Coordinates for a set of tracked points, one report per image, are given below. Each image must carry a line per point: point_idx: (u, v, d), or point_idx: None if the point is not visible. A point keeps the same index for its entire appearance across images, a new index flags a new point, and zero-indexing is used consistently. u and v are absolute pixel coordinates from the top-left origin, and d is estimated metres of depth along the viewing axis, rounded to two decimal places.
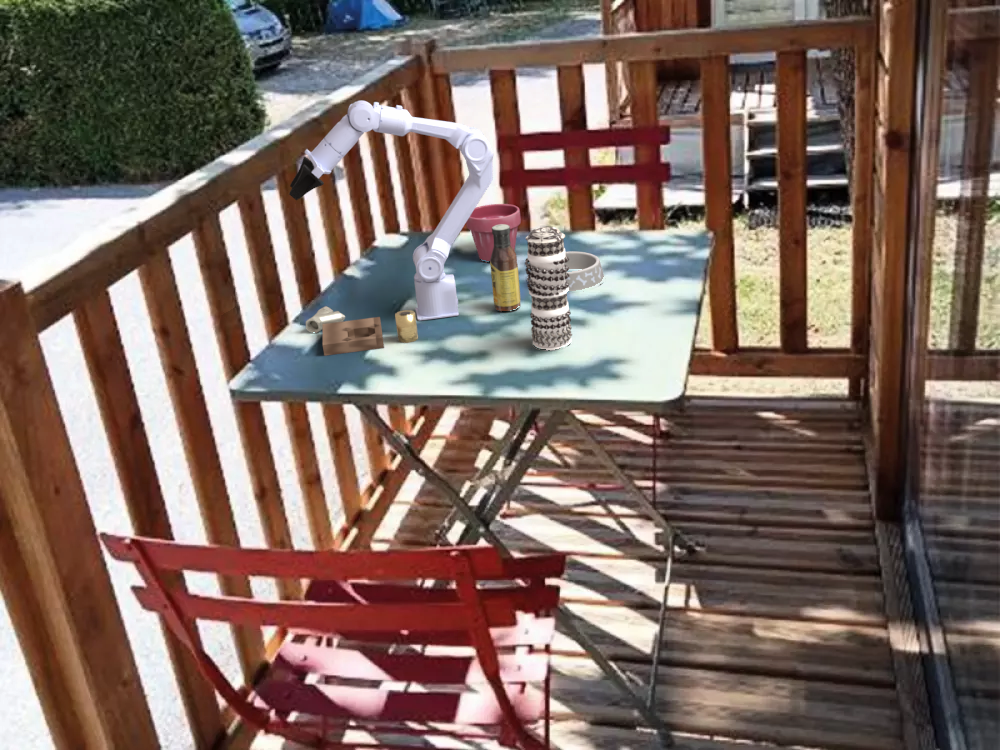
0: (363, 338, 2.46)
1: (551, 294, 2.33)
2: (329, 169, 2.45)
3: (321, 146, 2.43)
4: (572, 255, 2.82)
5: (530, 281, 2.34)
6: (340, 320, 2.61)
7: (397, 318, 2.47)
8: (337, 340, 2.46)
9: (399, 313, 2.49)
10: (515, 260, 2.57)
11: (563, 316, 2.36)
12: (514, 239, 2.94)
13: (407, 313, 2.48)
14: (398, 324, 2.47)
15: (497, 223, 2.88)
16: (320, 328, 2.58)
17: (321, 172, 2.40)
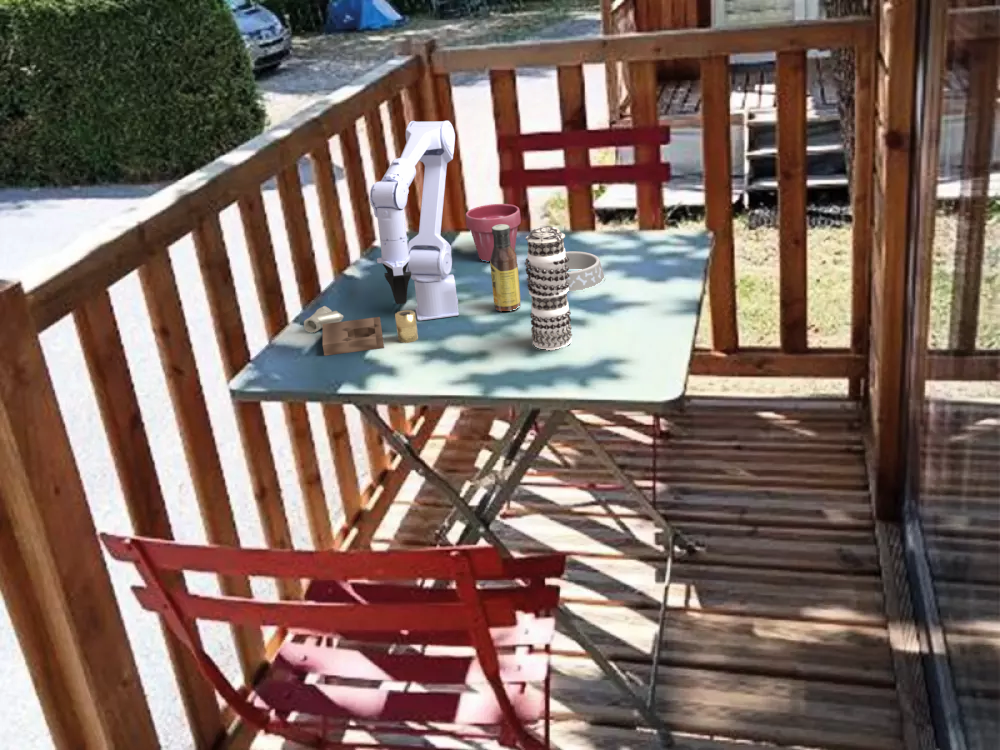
0: (363, 338, 2.46)
1: (551, 294, 2.33)
2: (406, 257, 2.41)
3: (383, 247, 2.40)
4: (572, 255, 2.82)
5: (530, 281, 2.34)
6: (338, 320, 2.61)
7: (397, 318, 2.47)
8: (337, 340, 2.46)
9: (399, 313, 2.49)
10: (515, 260, 2.57)
11: (563, 316, 2.36)
12: (514, 239, 2.94)
13: (407, 313, 2.48)
14: (398, 324, 2.47)
15: (497, 223, 2.88)
16: (318, 328, 2.58)
17: (400, 268, 2.36)
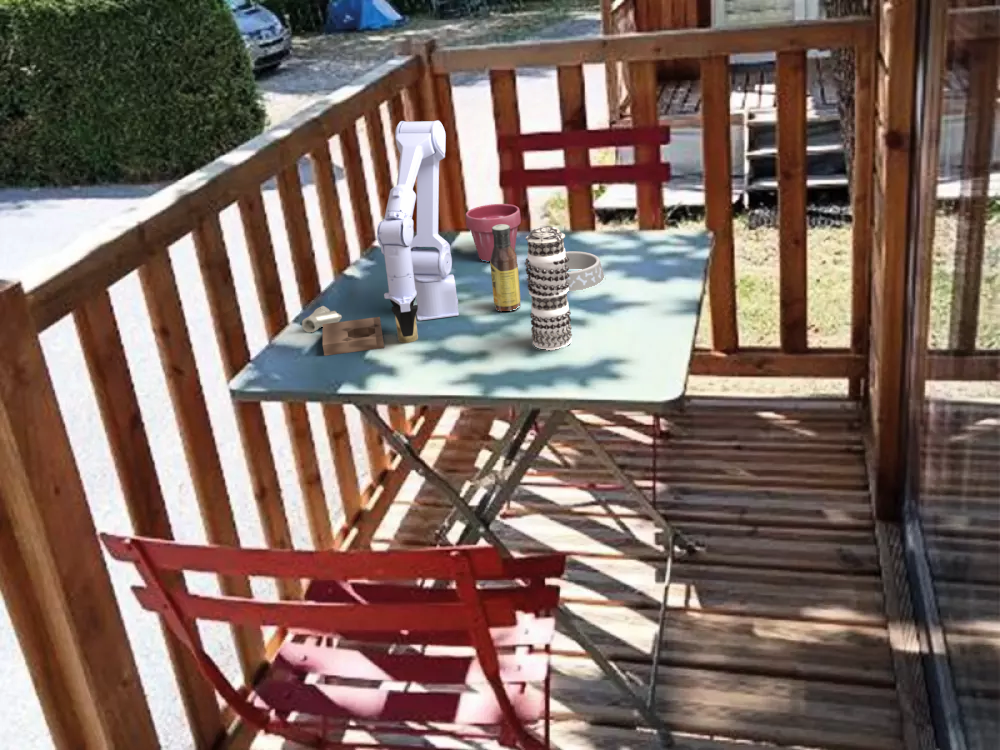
0: (363, 338, 2.46)
1: (551, 294, 2.33)
2: (412, 292, 2.44)
3: (390, 283, 2.43)
4: (572, 255, 2.82)
5: (530, 281, 2.34)
6: (336, 320, 2.61)
7: None
8: (337, 340, 2.46)
9: None
10: (515, 260, 2.57)
11: (563, 316, 2.36)
12: (514, 239, 2.94)
13: None
14: (398, 324, 2.47)
15: (497, 223, 2.88)
16: (316, 328, 2.58)
17: (407, 304, 2.39)
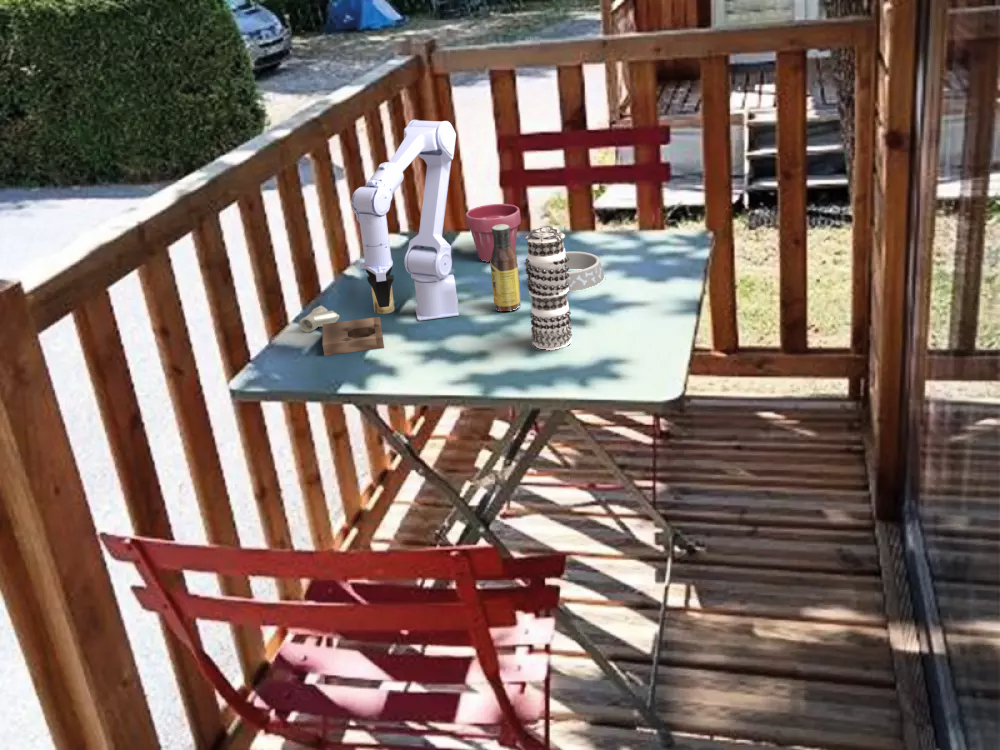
0: (363, 338, 2.46)
1: (551, 294, 2.33)
2: (388, 262, 2.41)
3: (366, 253, 2.40)
4: (572, 255, 2.82)
5: (530, 281, 2.34)
6: (334, 319, 2.61)
7: None
8: (337, 340, 2.46)
9: None
10: (515, 260, 2.57)
11: (563, 316, 2.36)
12: (514, 239, 2.94)
13: None
14: (374, 295, 2.44)
15: (497, 223, 2.88)
16: (314, 327, 2.59)
17: (383, 274, 2.36)
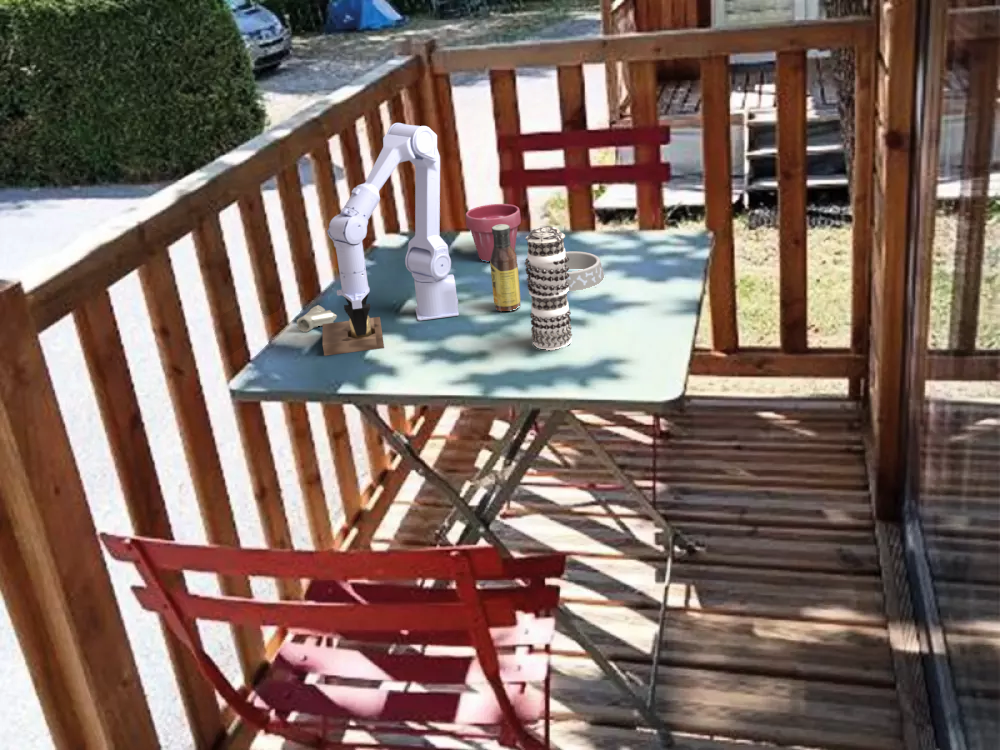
0: (363, 338, 2.46)
1: (551, 294, 2.33)
2: (365, 289, 2.44)
3: (343, 280, 2.42)
4: (572, 255, 2.82)
5: (530, 281, 2.34)
6: (331, 319, 2.62)
7: (351, 322, 2.47)
8: (337, 340, 2.46)
9: None
10: (515, 260, 2.57)
11: (563, 316, 2.36)
12: (514, 239, 2.94)
13: None
14: (352, 328, 2.47)
15: (497, 223, 2.88)
16: (311, 327, 2.59)
17: (359, 301, 2.39)
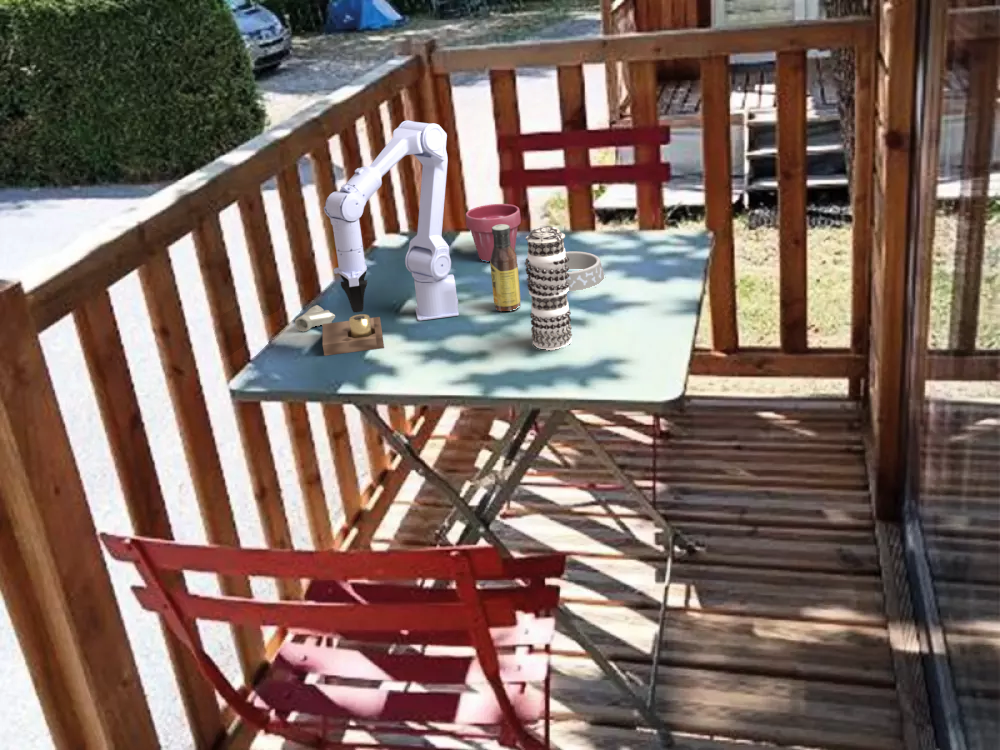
0: (363, 338, 2.46)
1: (551, 294, 2.33)
2: (362, 267, 2.42)
3: (339, 258, 2.40)
4: (572, 255, 2.82)
5: (530, 281, 2.34)
6: (330, 319, 2.62)
7: (351, 322, 2.47)
8: (337, 340, 2.46)
9: (353, 317, 2.48)
10: (515, 260, 2.57)
11: (563, 316, 2.36)
12: (514, 239, 2.94)
13: (362, 317, 2.48)
14: (352, 328, 2.47)
15: (497, 223, 2.88)
16: (309, 327, 2.59)
17: (355, 279, 2.37)
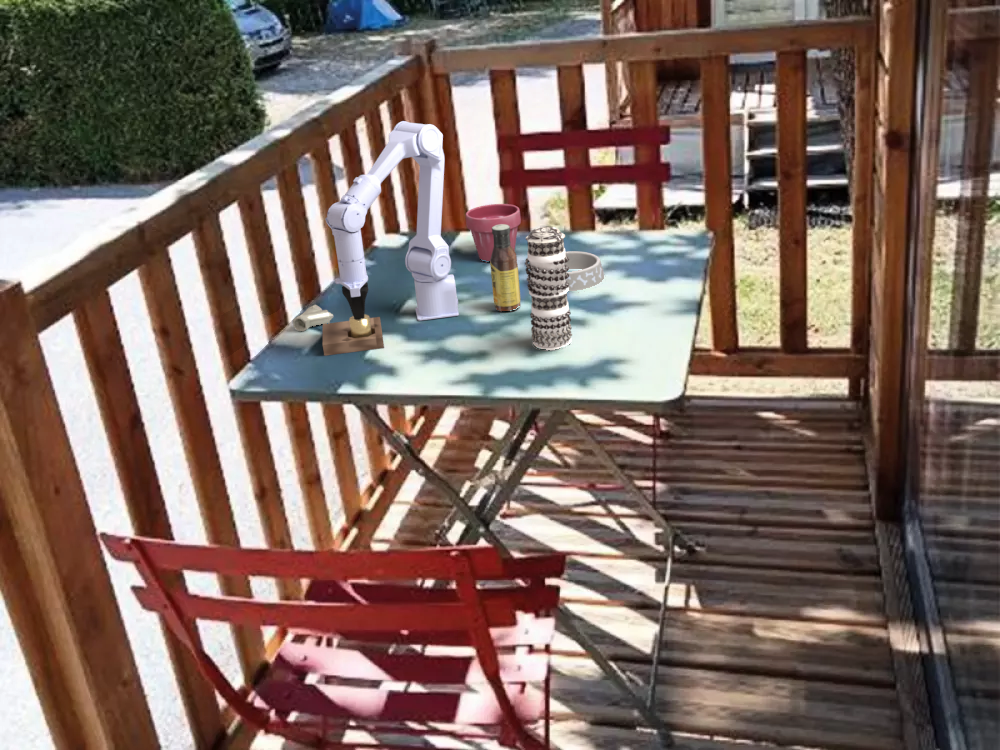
0: (363, 338, 2.46)
1: (551, 294, 2.33)
2: (363, 277, 2.42)
3: (341, 268, 2.41)
4: (573, 255, 2.82)
5: (530, 281, 2.34)
6: (328, 319, 2.62)
7: (351, 322, 2.47)
8: (337, 340, 2.46)
9: (353, 317, 2.48)
10: (515, 260, 2.57)
11: (563, 316, 2.36)
12: (514, 239, 2.94)
13: None
14: (352, 328, 2.47)
15: (497, 223, 2.88)
16: (307, 326, 2.59)
17: (357, 289, 2.38)
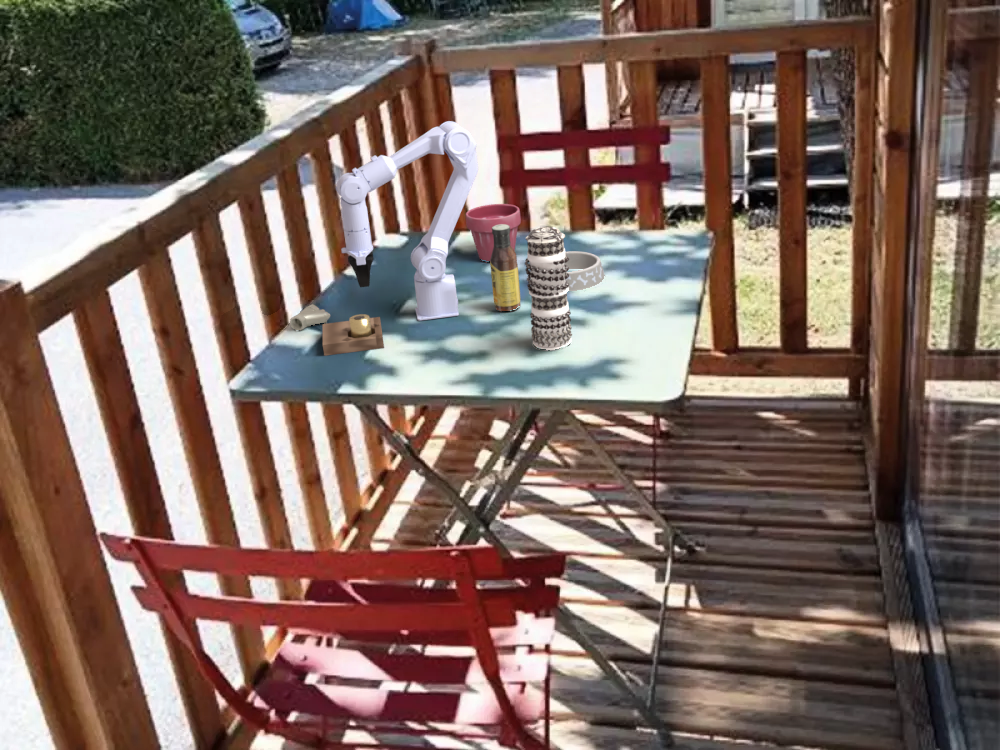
0: (363, 338, 2.46)
1: (551, 294, 2.33)
2: (369, 247, 2.51)
3: (347, 238, 2.50)
4: (573, 255, 2.82)
5: (530, 281, 2.34)
6: (325, 318, 2.62)
7: (351, 322, 2.47)
8: (337, 340, 2.46)
9: (353, 317, 2.48)
10: (515, 260, 2.57)
11: (563, 316, 2.36)
12: (514, 239, 2.94)
13: (362, 317, 2.48)
14: (352, 328, 2.47)
15: (497, 223, 2.88)
16: (304, 326, 2.60)
17: (363, 258, 2.47)
